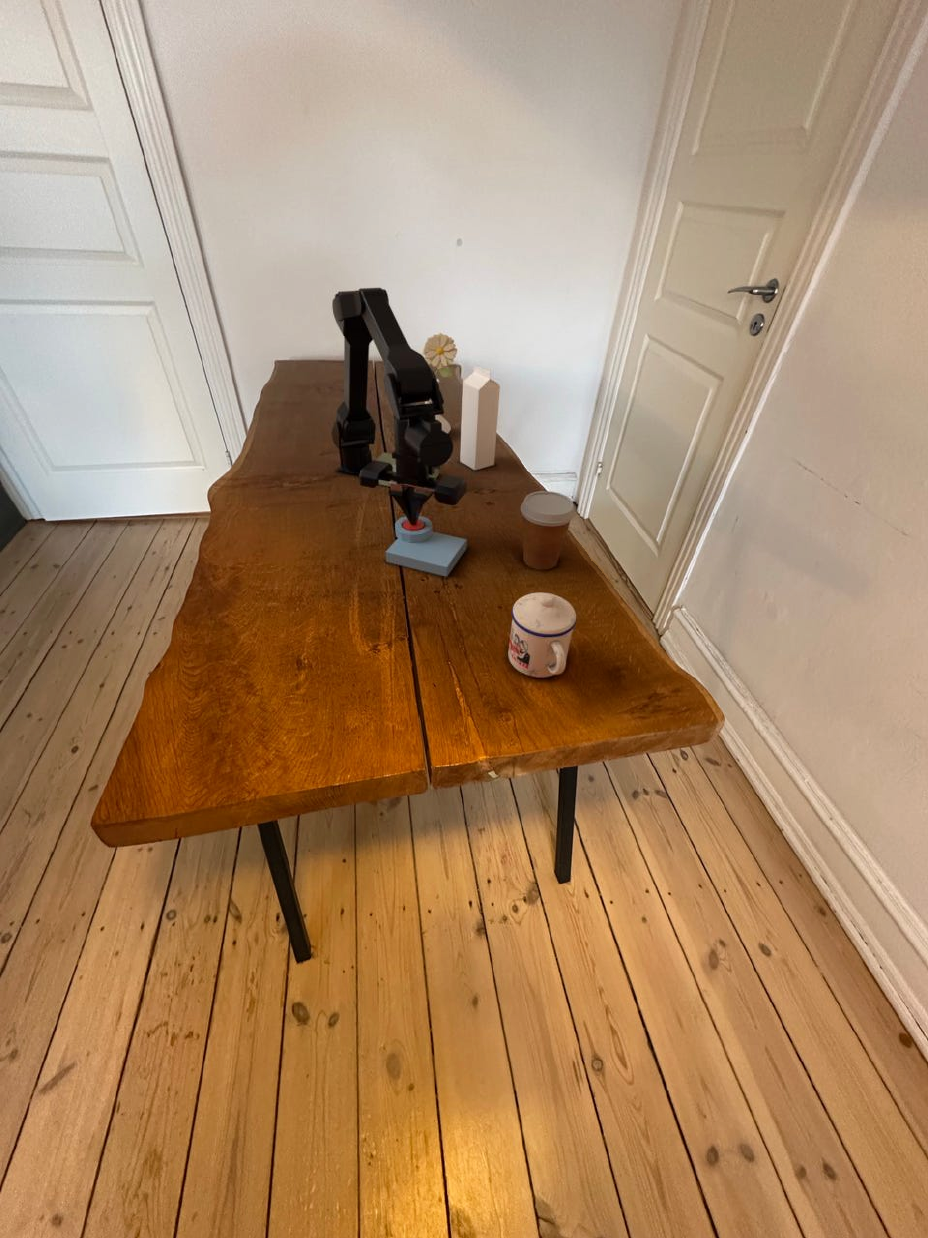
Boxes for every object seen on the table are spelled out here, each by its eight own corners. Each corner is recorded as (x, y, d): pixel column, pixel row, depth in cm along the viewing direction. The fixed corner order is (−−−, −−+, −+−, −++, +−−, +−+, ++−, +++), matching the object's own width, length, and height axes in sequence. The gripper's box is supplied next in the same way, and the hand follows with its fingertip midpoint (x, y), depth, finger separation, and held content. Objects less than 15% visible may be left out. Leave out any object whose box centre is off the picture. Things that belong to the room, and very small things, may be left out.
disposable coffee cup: (532, 580, 97) (541, 520, 90) (505, 553, 104) (511, 495, 96) (575, 567, 101) (587, 509, 93) (546, 542, 107) (555, 485, 100)
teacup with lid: (498, 643, 84) (504, 582, 77) (552, 633, 87) (563, 573, 79) (526, 700, 76) (536, 637, 68) (585, 688, 78) (602, 626, 70)
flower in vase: (400, 437, 144) (396, 333, 128) (419, 423, 153) (418, 323, 136) (446, 446, 141) (448, 340, 125) (462, 431, 149) (466, 330, 133)
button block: (378, 560, 100) (377, 541, 98) (405, 530, 109) (405, 512, 106) (446, 577, 97) (447, 558, 95) (469, 545, 105) (469, 527, 103)
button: (399, 534, 103) (399, 526, 102) (408, 524, 106) (408, 516, 105) (419, 539, 102) (419, 531, 101) (427, 529, 105) (427, 521, 104)
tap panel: (362, 483, 124) (361, 470, 122) (384, 464, 132) (384, 451, 130) (423, 496, 120) (423, 483, 118) (442, 476, 128) (443, 463, 126)
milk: (474, 471, 131) (479, 374, 116) (459, 461, 134) (462, 366, 120) (494, 464, 134) (501, 369, 119) (479, 456, 137) (484, 362, 123)
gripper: (479, 435, 96) (474, 514, 106) (384, 418, 101) (388, 495, 111) (456, 460, 88) (454, 542, 98) (354, 440, 93) (361, 520, 103)
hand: (413, 523), depth 103 cm, fingers closed, pressing on button
